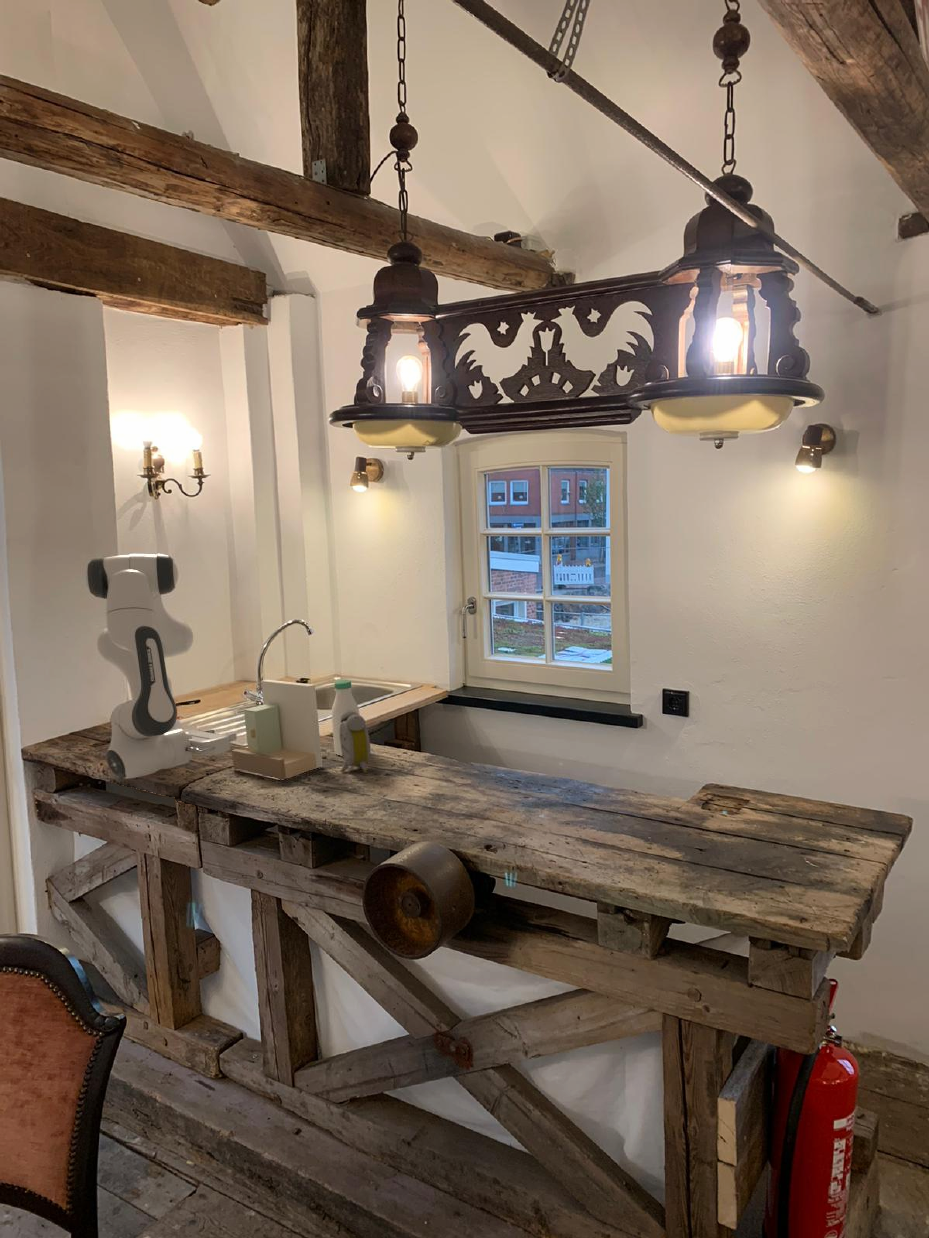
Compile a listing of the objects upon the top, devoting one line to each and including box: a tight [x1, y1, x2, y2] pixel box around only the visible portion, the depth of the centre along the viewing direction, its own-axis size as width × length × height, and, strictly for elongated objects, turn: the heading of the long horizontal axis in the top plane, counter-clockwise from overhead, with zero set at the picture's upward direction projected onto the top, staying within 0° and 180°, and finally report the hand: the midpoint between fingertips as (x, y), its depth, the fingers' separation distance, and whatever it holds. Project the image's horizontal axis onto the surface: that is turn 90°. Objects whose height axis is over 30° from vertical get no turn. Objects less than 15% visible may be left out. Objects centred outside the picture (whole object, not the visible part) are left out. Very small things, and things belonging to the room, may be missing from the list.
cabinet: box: [243, 704, 282, 755], centre depth 230 cm, size 5×8×12 cm, turn 140°
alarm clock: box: [340, 710, 371, 774], centre depth 221 cm, size 12×7×15 cm, turn 22°
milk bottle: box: [331, 680, 361, 757], centre depth 238 cm, size 8×8×20 cm
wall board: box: [231, 679, 323, 780], centre depth 227 cm, size 20×14×22 cm
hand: (223, 734), depth 221 cm, fingers open, 8 cm apart
